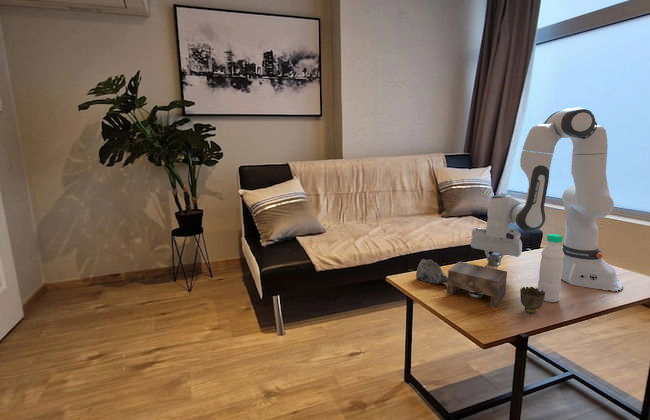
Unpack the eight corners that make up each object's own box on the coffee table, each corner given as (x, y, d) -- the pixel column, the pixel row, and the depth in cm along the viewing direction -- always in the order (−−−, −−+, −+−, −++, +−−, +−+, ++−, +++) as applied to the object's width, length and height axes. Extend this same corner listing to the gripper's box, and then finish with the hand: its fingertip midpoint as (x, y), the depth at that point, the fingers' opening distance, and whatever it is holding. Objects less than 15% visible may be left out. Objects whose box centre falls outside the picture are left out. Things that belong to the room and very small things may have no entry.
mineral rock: (451, 287, 142) (452, 264, 140) (427, 290, 140) (428, 266, 137) (435, 275, 154) (436, 254, 152) (413, 278, 152) (413, 256, 150)
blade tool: (491, 262, 157) (492, 251, 156) (500, 264, 154) (501, 253, 153) (475, 276, 140) (476, 265, 139) (485, 279, 138) (486, 267, 137)
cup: (513, 309, 123) (515, 288, 121) (528, 305, 125) (530, 284, 124) (531, 319, 116) (534, 297, 114) (547, 314, 118) (550, 293, 117)
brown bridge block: (504, 295, 133) (507, 271, 131) (495, 308, 123) (497, 282, 121) (458, 284, 144) (459, 261, 142) (446, 294, 135) (447, 270, 133)
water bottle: (533, 298, 131) (540, 234, 125) (541, 292, 135) (548, 231, 129) (554, 305, 125) (562, 238, 120) (561, 299, 129) (570, 235, 124)
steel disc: (484, 295, 135) (484, 291, 134) (480, 299, 131) (480, 296, 130) (471, 291, 138) (471, 288, 137) (466, 296, 134) (467, 292, 134)
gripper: (469, 228, 153) (467, 257, 156) (521, 237, 140) (517, 269, 143) (474, 225, 158) (471, 254, 161) (524, 233, 145) (520, 264, 148)
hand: (493, 261), depth 152 cm, fingers closed on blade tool, 2 cm apart
